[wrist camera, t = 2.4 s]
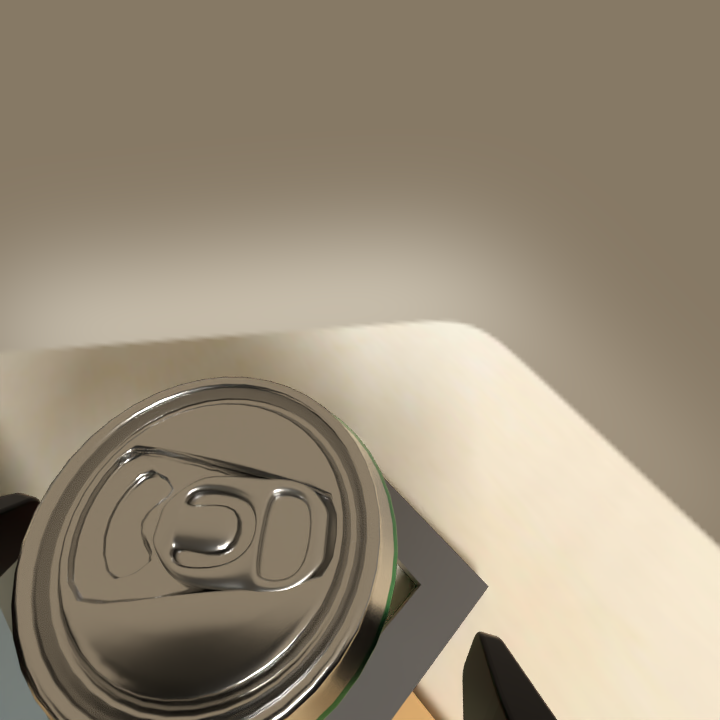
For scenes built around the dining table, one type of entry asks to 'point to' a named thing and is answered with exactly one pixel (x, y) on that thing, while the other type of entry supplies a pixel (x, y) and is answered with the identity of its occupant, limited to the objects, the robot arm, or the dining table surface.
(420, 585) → the grey rectangular frame
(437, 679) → the dining table surface
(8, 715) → the parts tray
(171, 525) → the soda can
